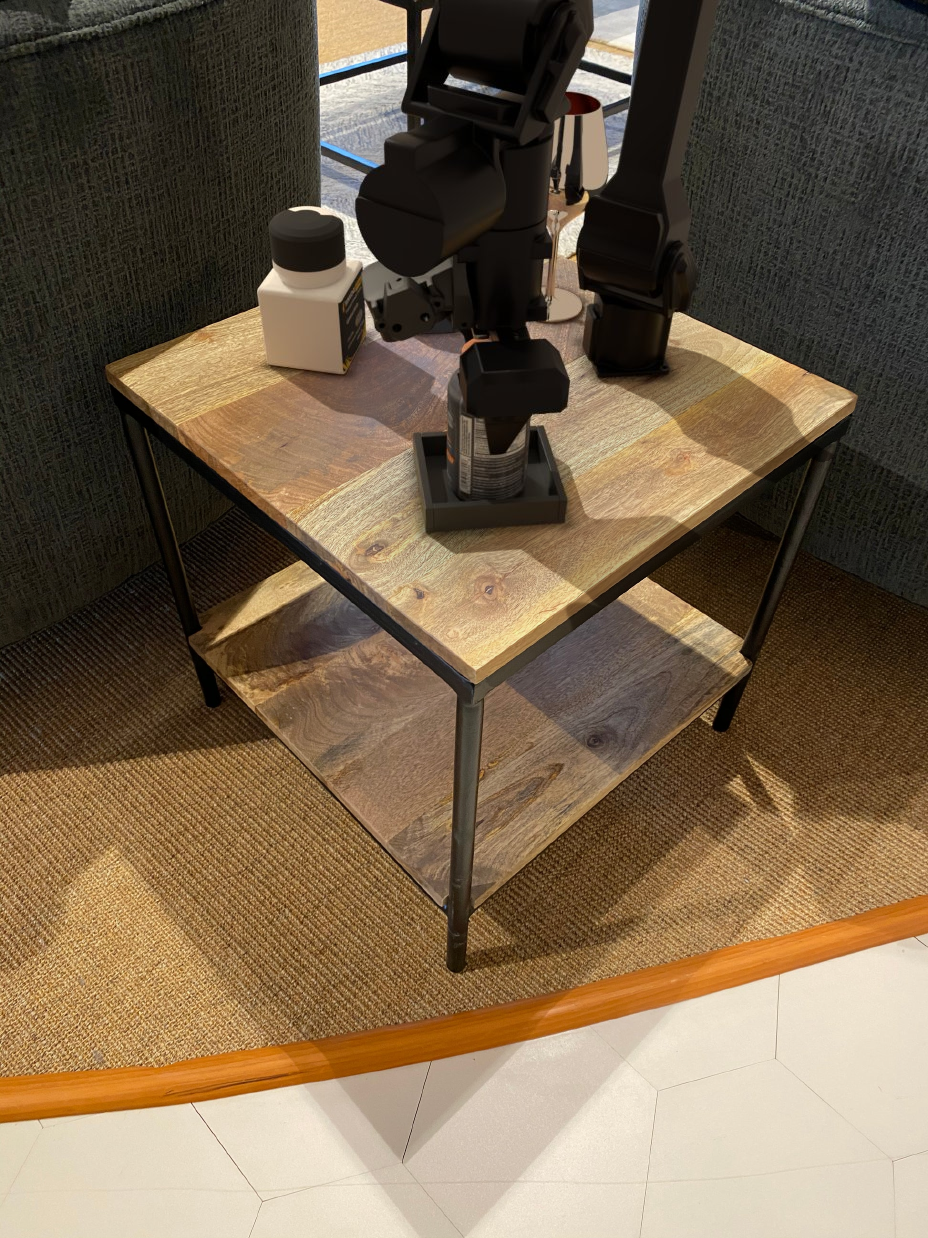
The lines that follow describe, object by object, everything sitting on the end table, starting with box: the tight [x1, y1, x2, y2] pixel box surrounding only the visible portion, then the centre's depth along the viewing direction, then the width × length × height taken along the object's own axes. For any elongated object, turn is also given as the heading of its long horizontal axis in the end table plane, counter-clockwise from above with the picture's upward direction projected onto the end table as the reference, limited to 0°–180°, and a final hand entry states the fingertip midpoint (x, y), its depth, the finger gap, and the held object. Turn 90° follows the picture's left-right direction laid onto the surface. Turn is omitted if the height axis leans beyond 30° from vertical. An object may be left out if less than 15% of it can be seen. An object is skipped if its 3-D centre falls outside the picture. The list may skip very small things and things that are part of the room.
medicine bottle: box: [256, 205, 367, 375], centre depth 83 cm, size 7×7×12 cm
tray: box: [412, 424, 569, 534], centre depth 73 cm, size 10×9×2 cm
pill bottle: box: [446, 337, 532, 501], centre depth 70 cm, size 6×6×11 cm
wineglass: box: [541, 90, 609, 323], centre depth 87 cm, size 8×8×18 cm
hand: (490, 426), depth 70 cm, fingers closed on pill bottle, 6 cm apart
